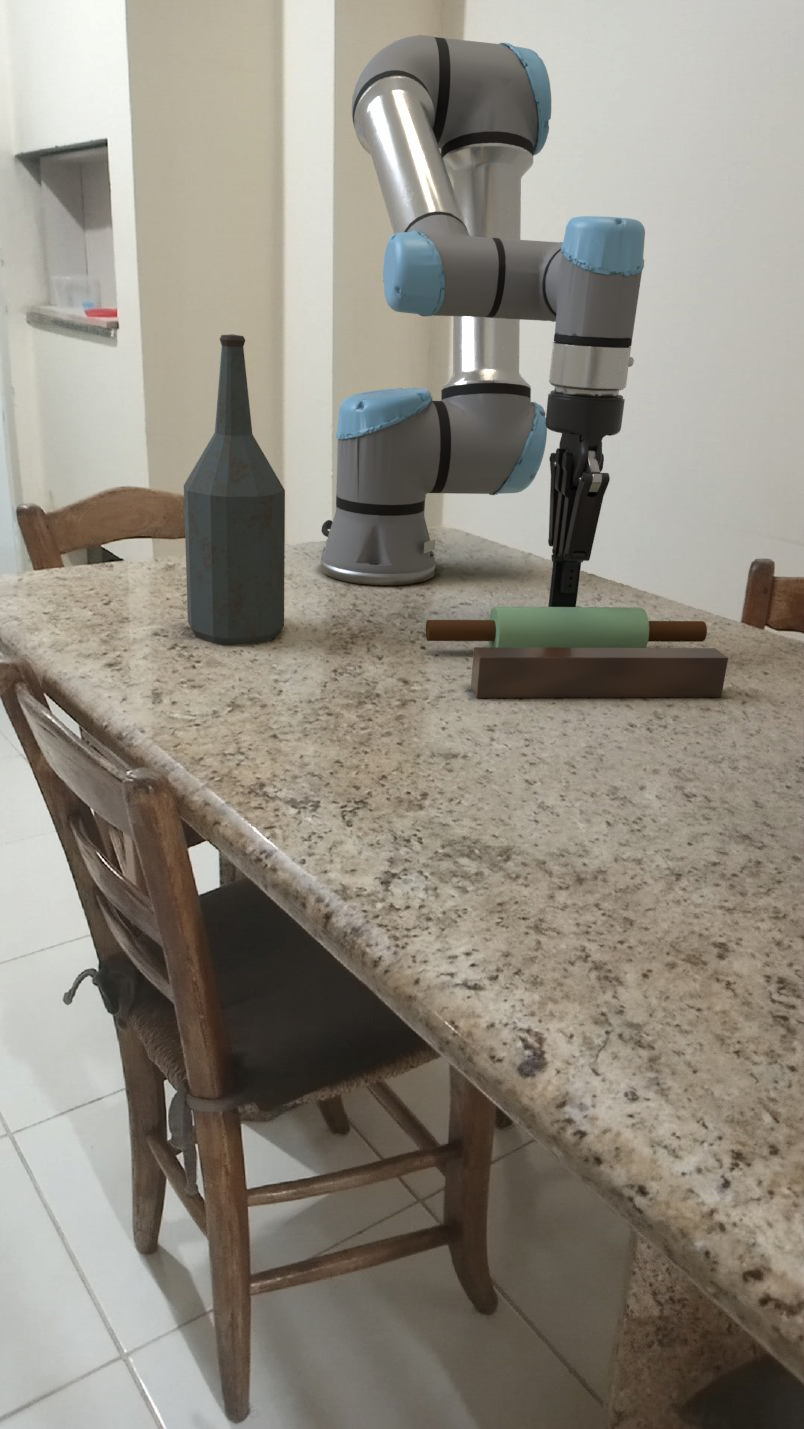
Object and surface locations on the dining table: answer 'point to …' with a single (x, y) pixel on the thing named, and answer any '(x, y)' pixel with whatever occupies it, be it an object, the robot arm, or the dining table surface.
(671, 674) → the bar
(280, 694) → the dining table surface
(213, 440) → the bottle
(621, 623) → the rolling pin
